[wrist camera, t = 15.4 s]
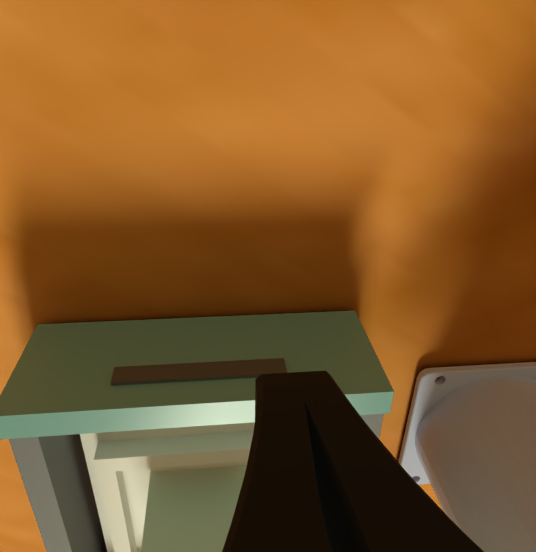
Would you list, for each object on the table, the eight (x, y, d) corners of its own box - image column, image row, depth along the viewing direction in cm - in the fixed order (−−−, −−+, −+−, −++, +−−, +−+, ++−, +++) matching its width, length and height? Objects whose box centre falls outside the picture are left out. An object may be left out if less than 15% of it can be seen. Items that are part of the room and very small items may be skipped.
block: (256, 464, 23) (268, 570, 19) (253, 529, 26) (263, 635, 21) (150, 471, 23) (137, 581, 18) (157, 536, 25) (148, 647, 21)
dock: (358, 330, 22) (387, 392, 18) (329, 543, 29) (345, 615, 26) (36, 345, 20) (1, 416, 17) (94, 565, 28) (78, 645, 25)
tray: (355, 307, 21) (394, 388, 16) (325, 535, 29) (347, 631, 24) (37, 321, 19) (-12, 413, 15) (97, 557, 27) (76, 662, 23)
